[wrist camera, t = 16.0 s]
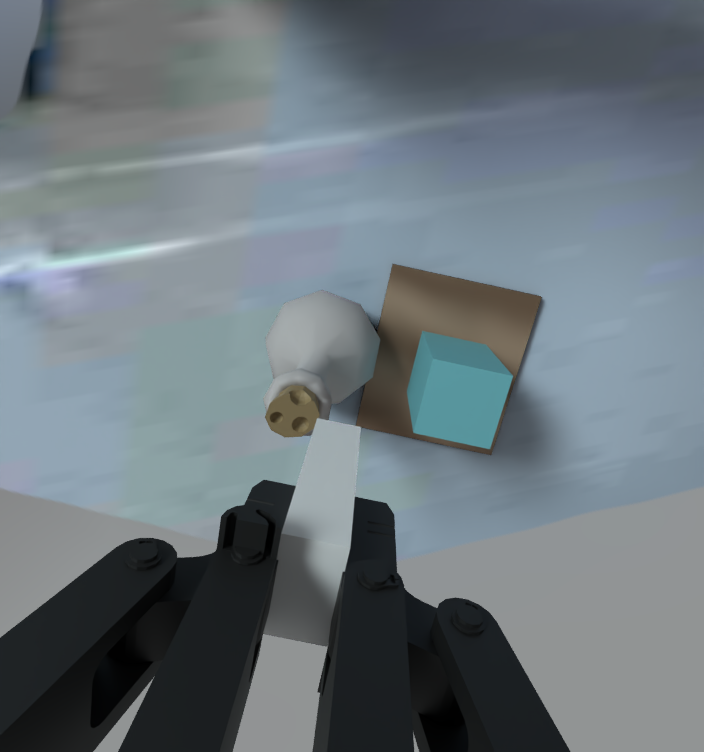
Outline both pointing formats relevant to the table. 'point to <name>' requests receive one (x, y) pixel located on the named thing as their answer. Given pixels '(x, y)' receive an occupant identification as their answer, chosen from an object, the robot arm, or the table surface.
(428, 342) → the teal boxy block
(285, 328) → the potion bottle
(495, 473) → the table surface
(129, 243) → the table surface
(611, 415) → the table surface
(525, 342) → the board
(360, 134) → the table surface
